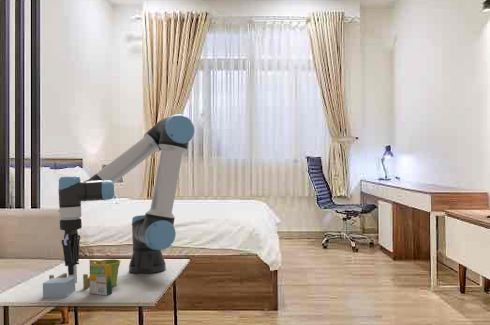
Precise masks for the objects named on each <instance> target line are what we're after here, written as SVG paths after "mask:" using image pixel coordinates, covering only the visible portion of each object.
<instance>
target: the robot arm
mask: <svg viewBox="0 0 490 325" xmlns="http://www.w3.org/2000/svg"><path fill="white" fill-rule="evenodd" d="M194 135H195V126H194V123H193V122H192V120H191V119H190V118H189V117H187V116H186V115H184V114H172V115H170V116H167V117H163V118H162V119H160V120H159V121H158V122H156V124H154V125H153V127H151V128H150V129H148V130H147V131H146V132H144V134H143V138H141V139H140V140H138V141H137V142H135V144H133V145H132V146H131V147H129V148H128V149H126V151H124V152H123V153H122V154H120V155H119V156H117V157H116V158H115V159H114V160H112V161H111V162H109V163H108V164H107V165H106V166H104V167H103V168H101V169H100V170H99V171H98V172H96V173H95V174H94V175H93V176H91V177H90V178H88V179H86V180H81V177H80V175H79V176H78V175H74V176H73V175H72V176H60V177H59V179H58V206H59V207H58V208H59V209H58V210H57V211H58V213H59V218H60V220H59V230H61V231H64V235H63V239H62V240H61V245H62V249H63V251H62V252H63V259H64V267H67V278H72V277H75V285H76V284H77V283H78V275H77V274H78V272H77V271H78V270H77V268H78V267H77V265H80V242H81V235H80V234H78V230H80V229H82V226H83V225H82V219H81V218H82V202H93V201H109V200H112V199H113V198H114V197H115V196H114V195H115V186H114V184H116V182H118V181H119V180H120V179H122V178H123V177H124V176H125V175H127V174H128V173H130V172H131V171H132V170H133V169H135V168H136V167H138V165H141V163H143V162H144V161H145V160H147V158H150V156H152V155H153V154H154V153H159V152H160V155H159V161H158V162H159V163H158V166H157V167H158V168H157V172H156V178H155V183H154V188H153V194H152V198H151V199H152V200H151V204H150V209H149V210H147V211H146V212H145V214H141V215H135V216H133V217H132V218H131V219H132V220H131V232H132V234H131V235H132V254H131V258H130V261H129V265H128V271H129V273H132V274H154V273H158V272H162V271H165V270H166V269H167V268H166V267H167V265H166V261H165V258H164V255H163V253H162V251H163V250H166V249H169V247H171V246H172V244H173V243H174V242H175V238H176V234H177V232H176V229H175V226H174V223H175V218H176V217H175V215H174V214H173V208H174V204H175V203H174V202H175V199H176V198H175V197H176V193H177V187H178V186H177V185H178V180H179V175H180V168H181V164H182V160H183V154H185V153H186V152H187V151H188V147H189V142H190V141H191V140H192V139H193V137H194Z"/></svg>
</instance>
